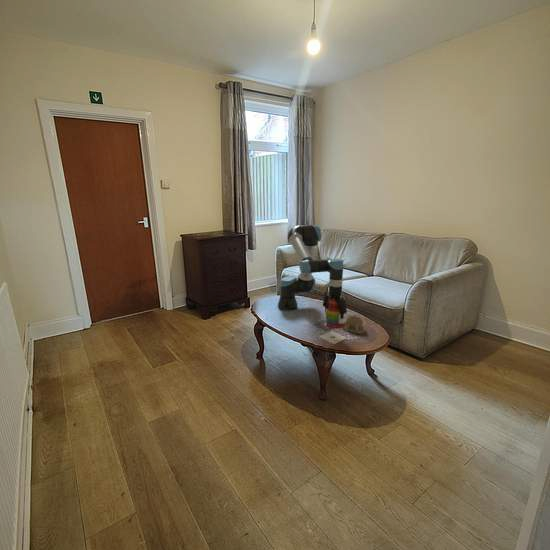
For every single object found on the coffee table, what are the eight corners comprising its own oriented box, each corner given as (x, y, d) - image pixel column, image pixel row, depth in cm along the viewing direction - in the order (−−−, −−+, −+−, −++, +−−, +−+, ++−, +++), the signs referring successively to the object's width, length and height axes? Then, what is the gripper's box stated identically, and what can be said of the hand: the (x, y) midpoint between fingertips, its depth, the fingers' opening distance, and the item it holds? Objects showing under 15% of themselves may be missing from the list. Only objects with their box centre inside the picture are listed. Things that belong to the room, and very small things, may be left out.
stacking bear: (346, 326, 188) (347, 298, 184) (333, 330, 184) (333, 302, 179) (334, 320, 198) (335, 294, 193) (322, 324, 193) (322, 297, 188)
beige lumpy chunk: (365, 327, 207) (366, 313, 204) (363, 334, 197) (364, 320, 194) (343, 324, 212) (344, 310, 209) (341, 331, 202) (341, 317, 199)
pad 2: (319, 337, 194) (319, 336, 194) (331, 331, 201) (331, 330, 201) (334, 344, 185) (334, 343, 185) (346, 338, 192) (346, 337, 192)
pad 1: (313, 324, 211) (313, 323, 211) (324, 319, 219) (324, 319, 219) (326, 330, 203) (326, 329, 202) (338, 325, 210) (338, 324, 210)
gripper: (317, 282, 189) (316, 316, 196) (346, 291, 173) (344, 328, 179) (325, 280, 194) (324, 313, 200) (355, 288, 178) (352, 324, 184)
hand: (333, 320), depth 190 cm, fingers closed on stacking bear, 9 cm apart
